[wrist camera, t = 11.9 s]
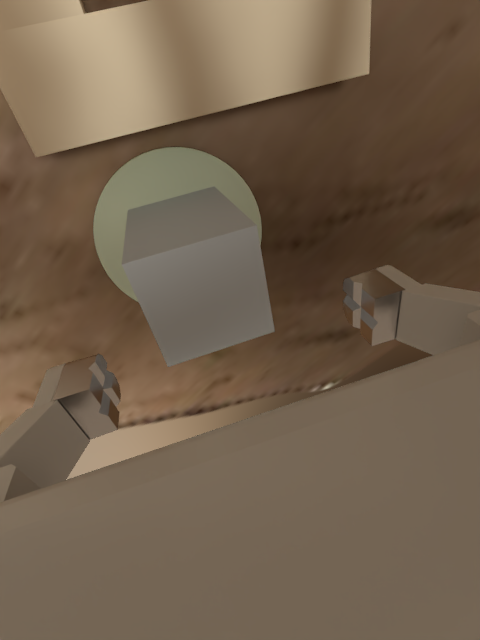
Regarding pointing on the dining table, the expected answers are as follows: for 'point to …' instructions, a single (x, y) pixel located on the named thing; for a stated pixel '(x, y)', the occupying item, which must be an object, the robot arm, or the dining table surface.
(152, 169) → the pad
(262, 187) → the dining table surface
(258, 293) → the block
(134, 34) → the pocket board
